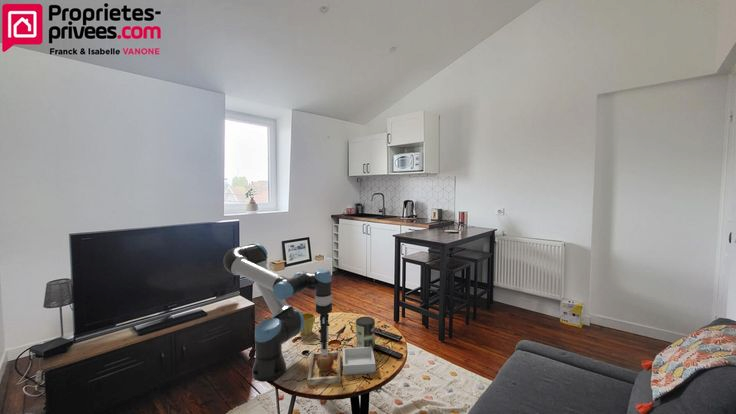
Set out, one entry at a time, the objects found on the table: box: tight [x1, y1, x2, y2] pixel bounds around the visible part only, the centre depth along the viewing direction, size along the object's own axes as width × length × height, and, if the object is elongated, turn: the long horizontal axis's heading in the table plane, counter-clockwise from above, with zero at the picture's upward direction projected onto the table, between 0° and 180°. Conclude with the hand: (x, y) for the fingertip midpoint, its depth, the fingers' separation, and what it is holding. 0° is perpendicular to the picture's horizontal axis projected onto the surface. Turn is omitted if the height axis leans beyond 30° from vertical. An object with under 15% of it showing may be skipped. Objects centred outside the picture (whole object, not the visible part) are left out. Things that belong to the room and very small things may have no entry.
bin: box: [342, 346, 377, 376], centre depth 144 cm, size 15×15×4 cm
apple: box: [316, 354, 335, 372], centre depth 141 cm, size 8×8×8 cm
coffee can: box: [355, 316, 376, 350], centre depth 161 cm, size 10×10×14 cm
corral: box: [306, 350, 341, 386], centre depth 141 cm, size 14×21×2 cm
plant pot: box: [300, 312, 316, 336], centre depth 177 cm, size 10×10×10 cm
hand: (325, 347), depth 140 cm, fingers open, 13 cm apart
